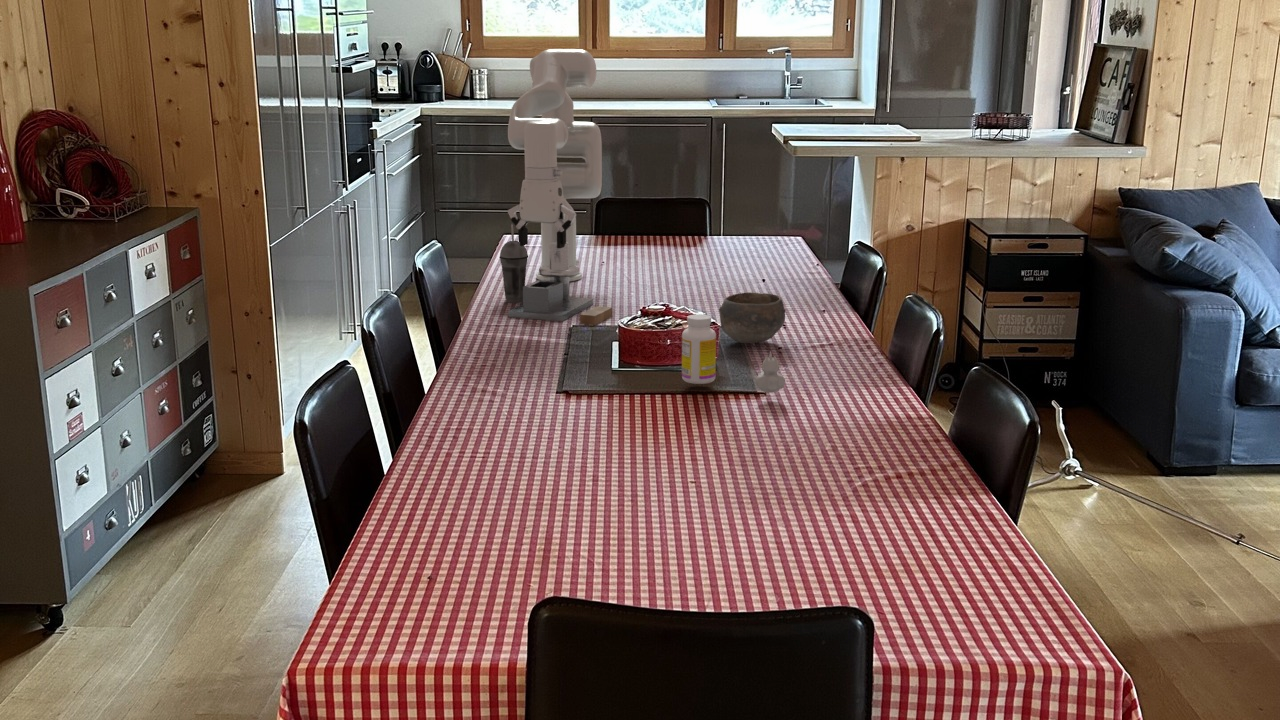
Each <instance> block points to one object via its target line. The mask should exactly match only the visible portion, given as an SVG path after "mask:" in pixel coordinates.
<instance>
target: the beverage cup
mask: <svg viewBox="0 0 1280 720" xmlns="http://www.w3.org/2000/svg"><path fill="white" fill-rule="evenodd" d="M510 225H511V227H510V228H511V229H510V230H511V231H510V232H511V240H509V241H507V242H506V243H505V244H503V245H502V247H501V249H500V253H499V261H500V265H501V270H502V279H503V280H502V281H503V289H504V296H505V302H506V303H508V304H520V303H523V287H524V286H526V276H527V275H526V274H527V265H528V258H529V254H528V249H527V247H526V245H524V246H520V242H519V240H515V237H514V236H515V235H514V234H515V233H514V223H511V224H510Z"/></svg>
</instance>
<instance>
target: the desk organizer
mask: <svg viewBox="0 0 1280 720" xmlns="http://www.w3.org/2000/svg"><path fill="white" fill-rule="evenodd" d="M549 264H550V266H544V267H542V266H541V267H539V268H538V273H539V274H540V275H542V276H546V277H550V281H542V280H538V279H537V280H536V281H533V282H531V283H529V284H525V286H524V287H523V302H522V304H520V305H517V306H516V307H514V308H511V309H509V310H507V313H508V318H515V319H516V318H517V319H526V320H527V319H529V320H540V321H550V322H551V321H552V322H561V323H562V322H564V321H566V320H568V319H570V318H571V317H573V316H575V315H577V314H579V313H580V312H582V311H584V310H586V309H588V308H590V307H591V306H593V305H594V298H589V297H576V296H574V297H573V296H570V281H569V277H571V276H576V275H579V272H580V267H578V266H570V265H569V243H568V242H566V244H565V246H564V247H563V248H557V242H550V243H549Z"/></svg>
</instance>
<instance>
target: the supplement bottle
mask: <svg viewBox="0 0 1280 720" xmlns="http://www.w3.org/2000/svg"><path fill="white" fill-rule="evenodd" d="M686 323H687V328H685V329H684V330H683V331H682V333H681V378H682V380H683V381H684V382H685V383H688V384H694V385H695V384H697V385H705V384H710V383H713V382H714V381H715V380H716V376H717V375H716V371H717V370H716V369H717V367H716V363H717V361H716V360H717V359H716V358H717V357H716V356H717V344H716V343H717V333H716V331H715V330H714V329H713V328H711V324H712V316H711V315H707V314H697V313H695V314H690V315H689V314H688V316H687V318H686Z"/></svg>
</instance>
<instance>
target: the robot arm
mask: <svg viewBox="0 0 1280 720" xmlns="http://www.w3.org/2000/svg"><path fill="white" fill-rule="evenodd" d="M595 60H596V59H595V58H594V57H593V55H592V54H591V53H590V52H589V51H587V50H584V49H582V48H581V49H576V48H570V49H569V48H564V49H563V48H553V49H551V48H550V49H545V50H542V51H540V52H539V54H538V55H536V56H534V57H532V58H531V59H530V61H529V72H530V77H531V81H532V85H531V89H529V90H528V91H526V92H524V94H522V95H521V96H520V97H519V98H518V99H517V100H516V101H514V103H513V105H512V106H511V109H510V112H509V113H510V114H509V120H508V126H507V139H508V143H509V145H510V146H511V147H512V148H514V149H516V150H521V151H522V150H524V179H523V180H522V183H521V189H520V198H519V204H517V205H515V206H513V207H511V208H510V209H507V214H508V215H509V218H510V219H511V220H510V221H511V222H512V224H513V225H514V226H515V228H516V230H518V231H517V232H518V242H520V246H527V245H528V244H529V233H528V230H529V229H528V228H527V227H526V226H527V225H528V224H529V223H537V224H539V223H540V230H541V231H540V237H541V239H540V241H541V244H540V245H541V267H544V266H550V264H549V243H550V242H557V248H563V247H564V246H565V244H566V242H568V243H569V265H570V266H576V267H578V266H579V265H580V261H579V259H578V258H577V213H576V212H575V210H574V208H573V207H572V206H571V204H570V203H569V202H568V201H567V200H568V199H594V198H597V197H599V196H600V194H601V192H602V187H603V159H602V158H603V157H602V154H603V153H602V152H603V145H602V144H603V143H602V142H603V141H602V134H601V130H600V127H599V125H597V124H596V123H595V122H592V121H576V120H575V119H574V118H575V117H574V101H573V100H572V98H571V97H570V95H569V94H568V92H567V88H576V89H577V88H580V89H581V88H585V89H586V88H591V87H592V86H593V85H594V83H595V82H596V78H597V64H596V61H595ZM538 116H541V117H538ZM557 158H573V159H574V158H576V159H577V158H582V160H584V161H585V162H558V159H557ZM517 212H519V217H520V218H519V217H518V216H517ZM535 277H536V279H537V280H542V281H550V277H546V276H542V275H540V274H539V272H537V273H536V276H535ZM582 278H583V273H582V272H580V271H579V275H576V276H571V277H569V282H576V281H579V280H581V279H582Z"/></svg>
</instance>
